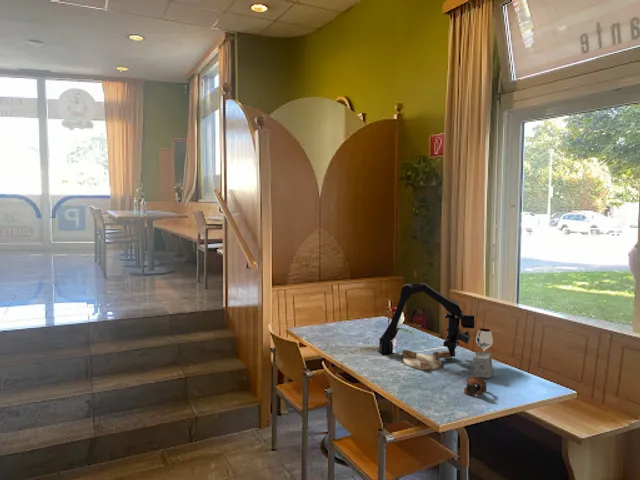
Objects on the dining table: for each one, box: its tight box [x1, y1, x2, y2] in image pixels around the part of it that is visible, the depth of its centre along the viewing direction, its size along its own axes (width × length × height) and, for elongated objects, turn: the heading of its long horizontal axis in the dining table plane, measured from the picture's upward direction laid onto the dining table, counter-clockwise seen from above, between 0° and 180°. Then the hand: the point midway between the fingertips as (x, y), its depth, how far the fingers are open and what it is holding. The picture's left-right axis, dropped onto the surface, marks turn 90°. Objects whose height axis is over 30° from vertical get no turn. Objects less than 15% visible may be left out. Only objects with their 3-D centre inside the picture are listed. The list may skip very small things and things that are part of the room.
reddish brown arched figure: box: [463, 375, 487, 398], centre depth 207 cm, size 12×10×8 cm
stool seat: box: [401, 349, 442, 371], centre depth 244 cm, size 19×20×4 cm
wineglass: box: [475, 327, 494, 352], centre depth 243 cm, size 8×8×18 cm
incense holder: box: [472, 351, 494, 379], centre depth 228 cm, size 10×8×10 cm
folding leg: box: [432, 350, 456, 359], centre depth 248 cm, size 12×3×3 cm, turn 111°
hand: (452, 356), depth 247 cm, fingers closed
